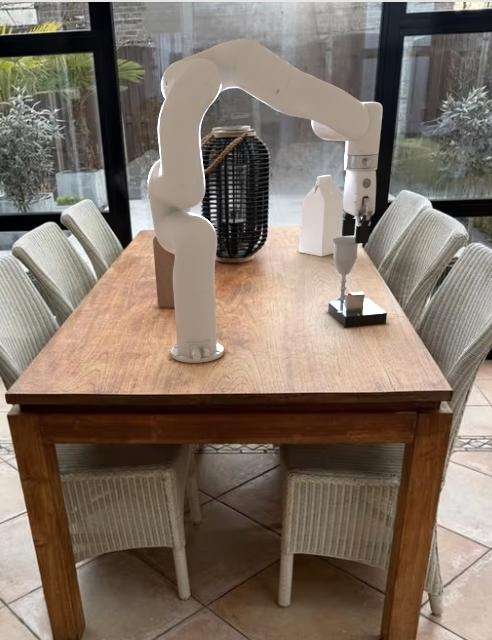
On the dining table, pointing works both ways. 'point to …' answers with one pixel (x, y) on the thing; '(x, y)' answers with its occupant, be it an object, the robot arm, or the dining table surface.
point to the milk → (321, 218)
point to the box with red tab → (354, 302)
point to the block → (164, 275)
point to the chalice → (344, 259)
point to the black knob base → (357, 314)
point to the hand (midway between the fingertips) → (354, 239)
